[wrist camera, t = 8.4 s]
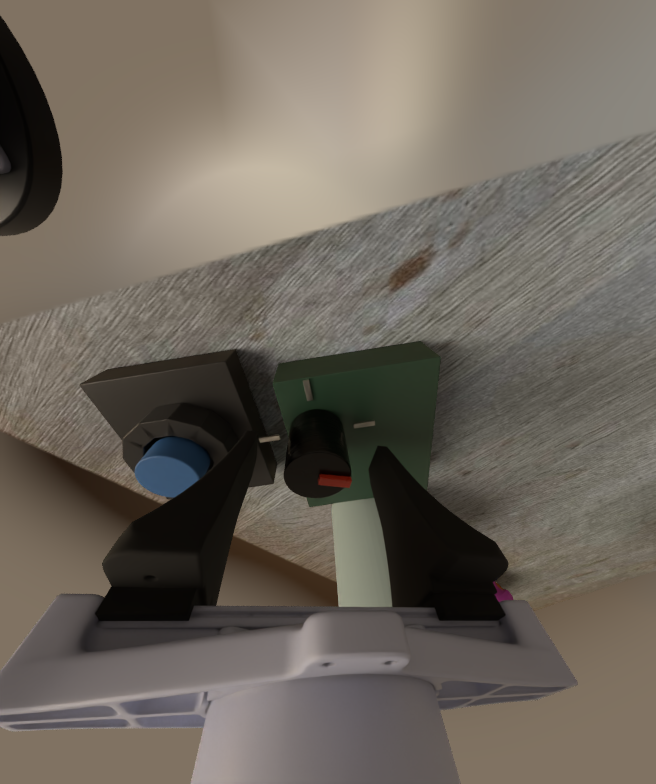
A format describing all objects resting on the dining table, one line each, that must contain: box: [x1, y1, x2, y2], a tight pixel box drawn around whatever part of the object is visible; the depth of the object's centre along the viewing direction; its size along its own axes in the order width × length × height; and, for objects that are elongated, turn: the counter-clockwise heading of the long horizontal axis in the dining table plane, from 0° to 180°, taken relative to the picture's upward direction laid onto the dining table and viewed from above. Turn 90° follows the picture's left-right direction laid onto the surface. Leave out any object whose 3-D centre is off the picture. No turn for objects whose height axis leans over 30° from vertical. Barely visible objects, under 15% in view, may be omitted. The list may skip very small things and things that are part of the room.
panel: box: [259, 341, 441, 507], centre depth 18 cm, size 12×12×3 cm
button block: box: [80, 349, 277, 499], centre depth 17 cm, size 11×9×4 cm
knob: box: [284, 409, 352, 498], centre depth 14 cm, size 4×4×4 cm
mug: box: [332, 498, 392, 607], centre depth 22 cm, size 14×9×10 cm
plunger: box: [135, 436, 210, 497], centre depth 15 cm, size 4×4×2 cm
